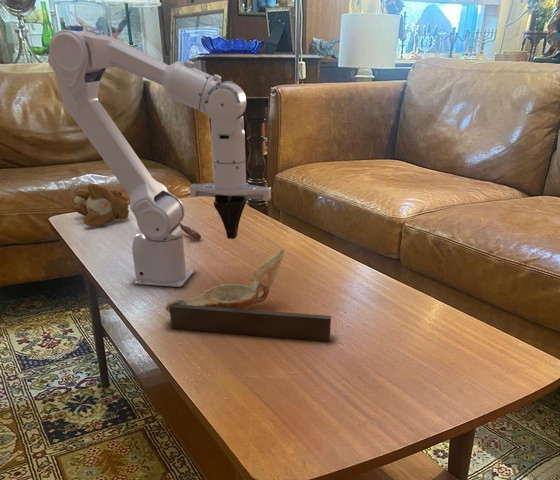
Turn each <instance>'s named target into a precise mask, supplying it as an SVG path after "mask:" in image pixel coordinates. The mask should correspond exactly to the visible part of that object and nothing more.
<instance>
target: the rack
mask: <svg viewBox="0 0 560 480" xmlns="http://www.w3.org/2000/svg"><path fill="white" fill-rule="evenodd" d="M169 309H170V313H169V317H170V325H171V327H170V328H171V329H173V330H185V331H196V332H197V331H198V332H207V333H208V332H209V333H220V334H232V335H233V334H234V335H244V336H245V335H246V336H256V337H258V336H259V337H269V338H280V339H294V340H305V341H318V342H328V343H329V342H330V341H331V332H332V331H331V328H332V315H324V314H314V313H313V314H311V313H297V312H287V311H286V312H285V311H284V312H283V311H271V310H258V309H250V310H247V309H234V308H220V307H207V306H194V305H181V304H171V305H170V306H169Z"/></svg>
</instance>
